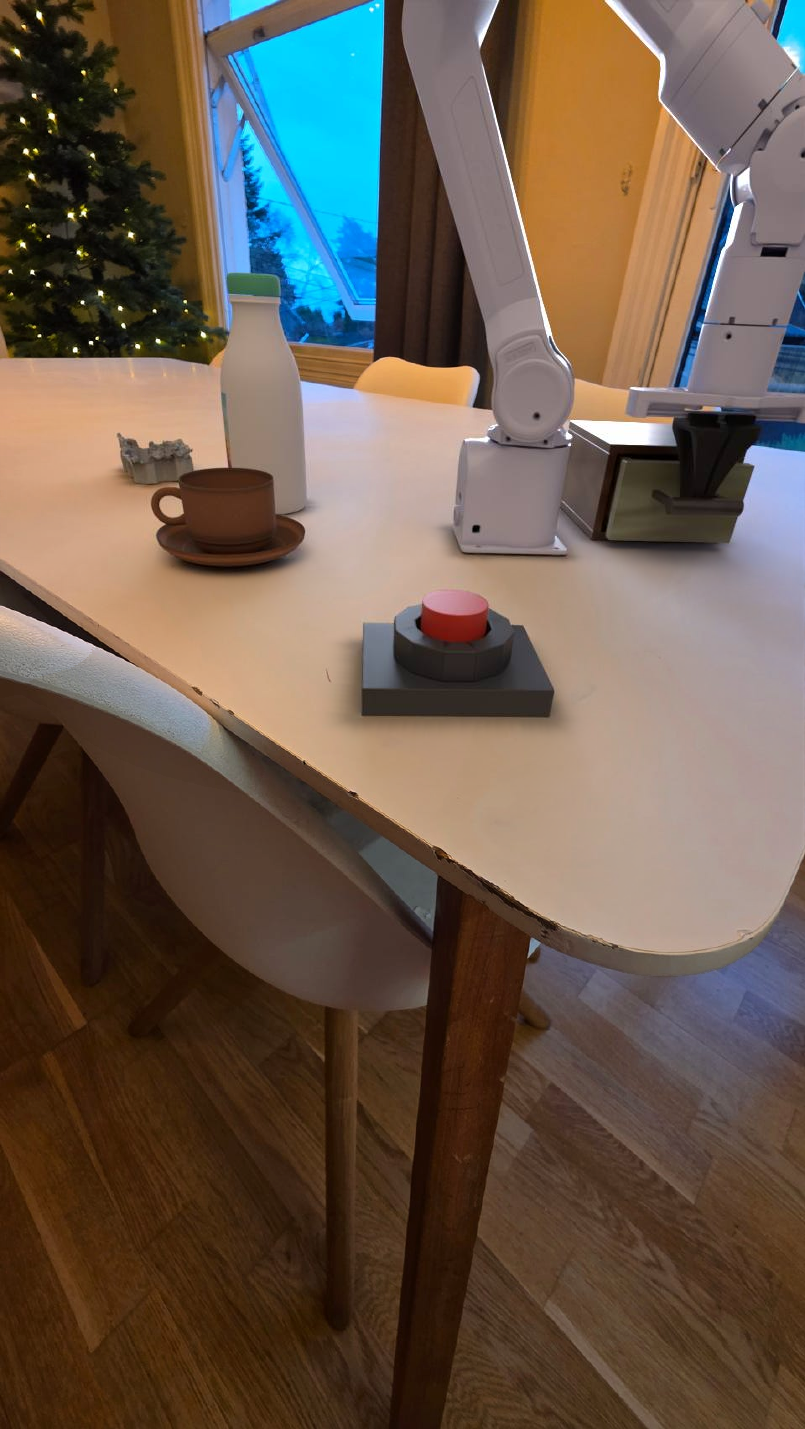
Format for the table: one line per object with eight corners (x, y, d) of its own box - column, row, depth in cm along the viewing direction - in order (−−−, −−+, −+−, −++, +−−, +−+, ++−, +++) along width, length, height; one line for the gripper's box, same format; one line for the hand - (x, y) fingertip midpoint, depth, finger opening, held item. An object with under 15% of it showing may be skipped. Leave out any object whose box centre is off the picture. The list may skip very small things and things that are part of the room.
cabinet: (718, 542, 61) (748, 448, 56) (591, 539, 60) (610, 443, 55) (663, 505, 72) (684, 424, 67) (555, 502, 71) (569, 420, 67)
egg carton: (120, 467, 78) (113, 432, 76) (182, 464, 81) (177, 429, 79) (131, 486, 70) (124, 447, 68) (199, 482, 73) (194, 444, 71)
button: (422, 645, 33) (424, 614, 32) (418, 617, 36) (420, 588, 35) (490, 646, 33) (494, 616, 32) (480, 618, 36) (483, 589, 35)
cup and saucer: (168, 587, 46) (153, 501, 43) (153, 538, 55) (140, 465, 52) (324, 569, 51) (321, 490, 47) (286, 527, 60) (281, 459, 56)
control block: (361, 716, 33) (361, 657, 31) (363, 646, 39) (363, 594, 37) (549, 718, 33) (561, 660, 31) (519, 649, 40) (527, 597, 38)
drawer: (757, 561, 54) (786, 479, 50) (627, 558, 53) (647, 474, 49) (674, 507, 68) (692, 440, 64) (572, 504, 68) (584, 436, 64)
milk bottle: (322, 505, 67) (315, 277, 56) (272, 521, 61) (254, 271, 50) (268, 493, 70) (251, 275, 59) (216, 507, 64) (187, 270, 54)
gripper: (670, 322, 43) (624, 523, 50) (873, 331, 43) (798, 527, 51) (634, 320, 48) (597, 500, 56) (813, 328, 49) (753, 504, 57)
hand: (691, 511), depth 54 cm, fingers closed
